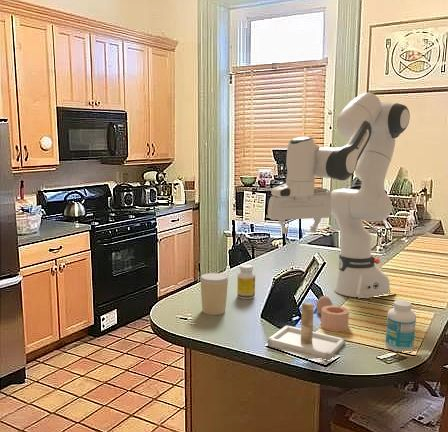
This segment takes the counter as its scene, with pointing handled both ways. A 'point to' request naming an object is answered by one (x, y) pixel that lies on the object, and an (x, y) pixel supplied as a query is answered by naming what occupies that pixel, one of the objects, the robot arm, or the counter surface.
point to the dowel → (307, 323)
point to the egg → (323, 303)
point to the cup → (334, 318)
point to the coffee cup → (214, 293)
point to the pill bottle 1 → (246, 282)
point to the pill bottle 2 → (400, 327)
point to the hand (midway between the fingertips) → (299, 232)
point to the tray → (320, 345)
